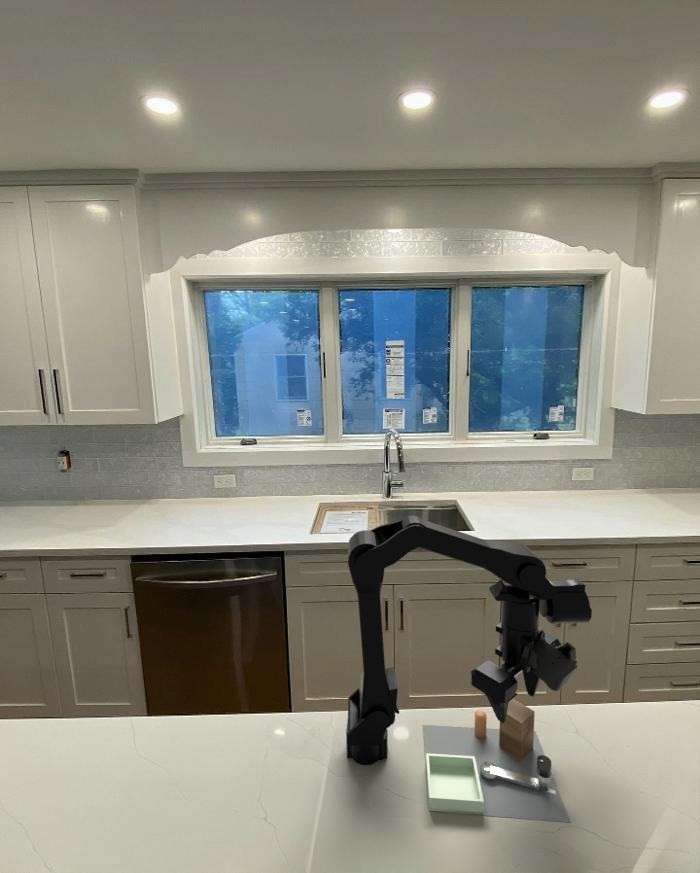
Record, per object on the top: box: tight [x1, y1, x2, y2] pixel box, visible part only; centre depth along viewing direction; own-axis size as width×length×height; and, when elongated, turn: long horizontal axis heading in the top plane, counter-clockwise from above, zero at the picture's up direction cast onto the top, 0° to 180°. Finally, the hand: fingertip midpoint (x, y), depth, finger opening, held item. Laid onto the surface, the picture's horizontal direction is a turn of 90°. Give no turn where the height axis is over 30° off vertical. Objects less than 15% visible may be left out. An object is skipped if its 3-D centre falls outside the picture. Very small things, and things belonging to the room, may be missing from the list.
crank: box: [480, 755, 552, 791], centre depth 71 cm, size 10×3×5 cm, turn 69°
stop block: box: [499, 698, 535, 761], centre depth 77 cm, size 4×4×7 cm
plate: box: [422, 709, 571, 824], centre depth 73 cm, size 20×16×5 cm
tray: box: [425, 753, 484, 816], centre depth 70 cm, size 8×8×2 cm
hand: (516, 707), depth 76 cm, fingers open, 9 cm apart
